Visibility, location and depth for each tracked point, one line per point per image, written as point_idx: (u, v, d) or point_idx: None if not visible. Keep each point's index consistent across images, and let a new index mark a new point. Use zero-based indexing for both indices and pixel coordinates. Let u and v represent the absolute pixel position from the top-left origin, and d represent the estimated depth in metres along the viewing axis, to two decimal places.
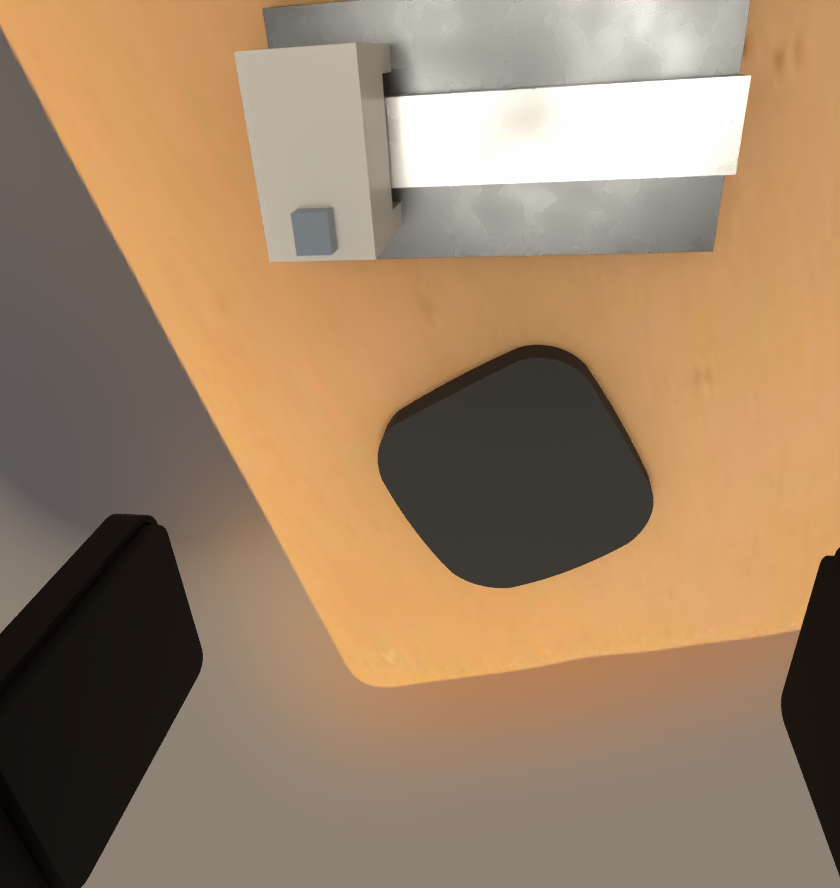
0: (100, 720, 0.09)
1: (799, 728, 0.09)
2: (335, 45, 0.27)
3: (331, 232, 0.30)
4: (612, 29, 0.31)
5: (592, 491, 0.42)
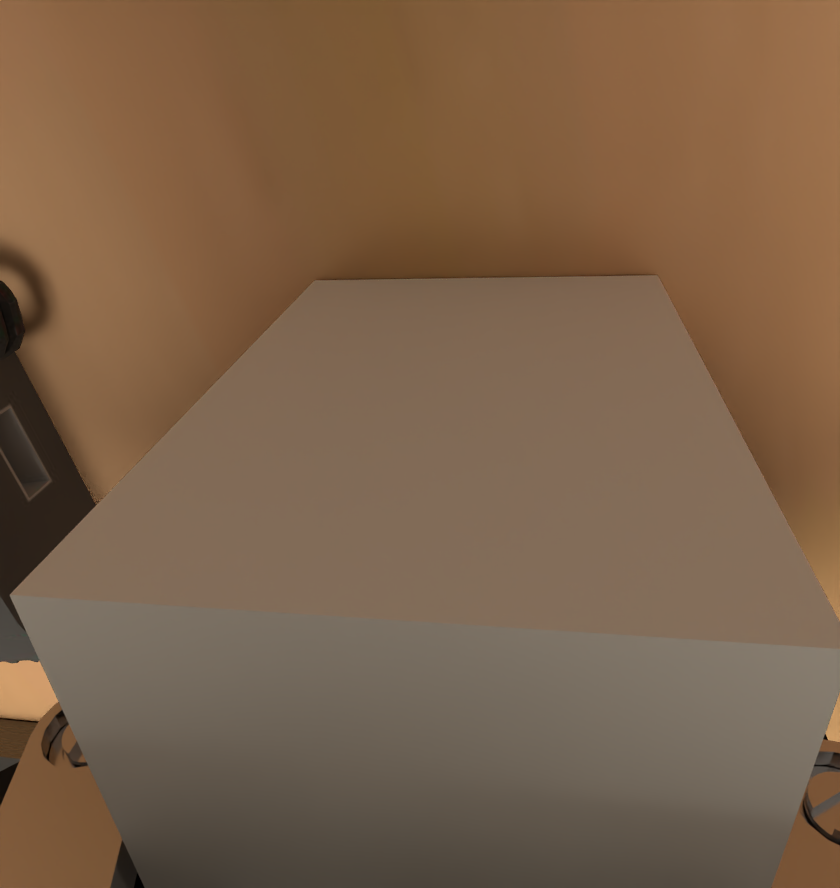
0: None
1: None
2: None
3: None
4: None
5: None
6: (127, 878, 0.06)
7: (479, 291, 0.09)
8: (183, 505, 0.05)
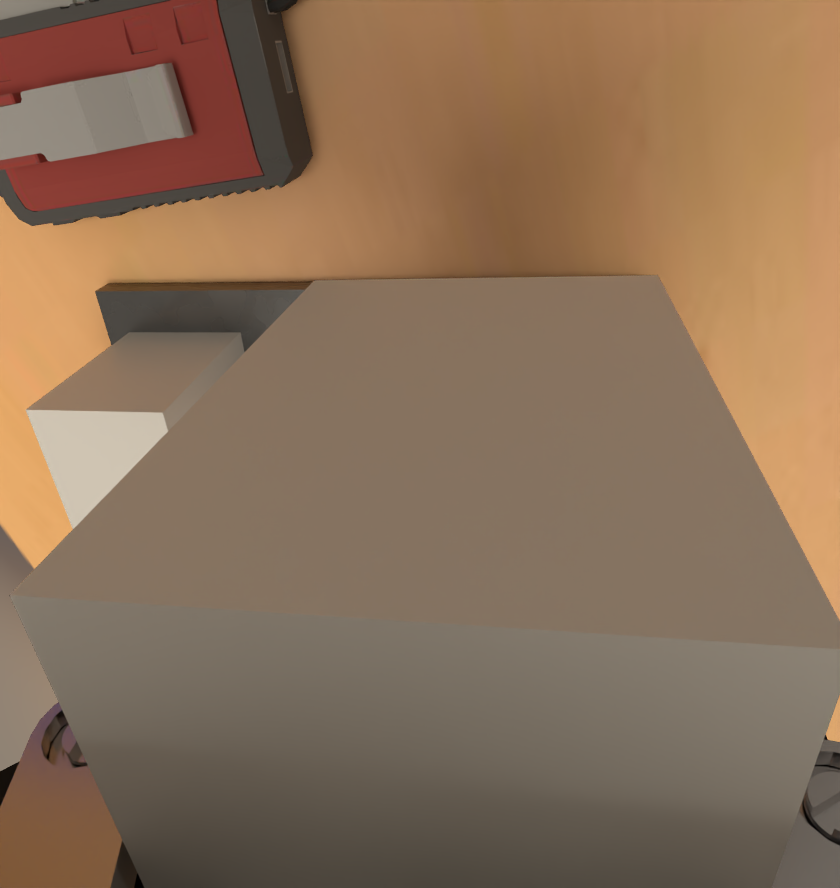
0: None
1: None
2: (140, 413, 0.23)
3: None
4: None
5: None
6: (127, 878, 0.06)
7: (479, 290, 0.09)
8: (183, 505, 0.05)
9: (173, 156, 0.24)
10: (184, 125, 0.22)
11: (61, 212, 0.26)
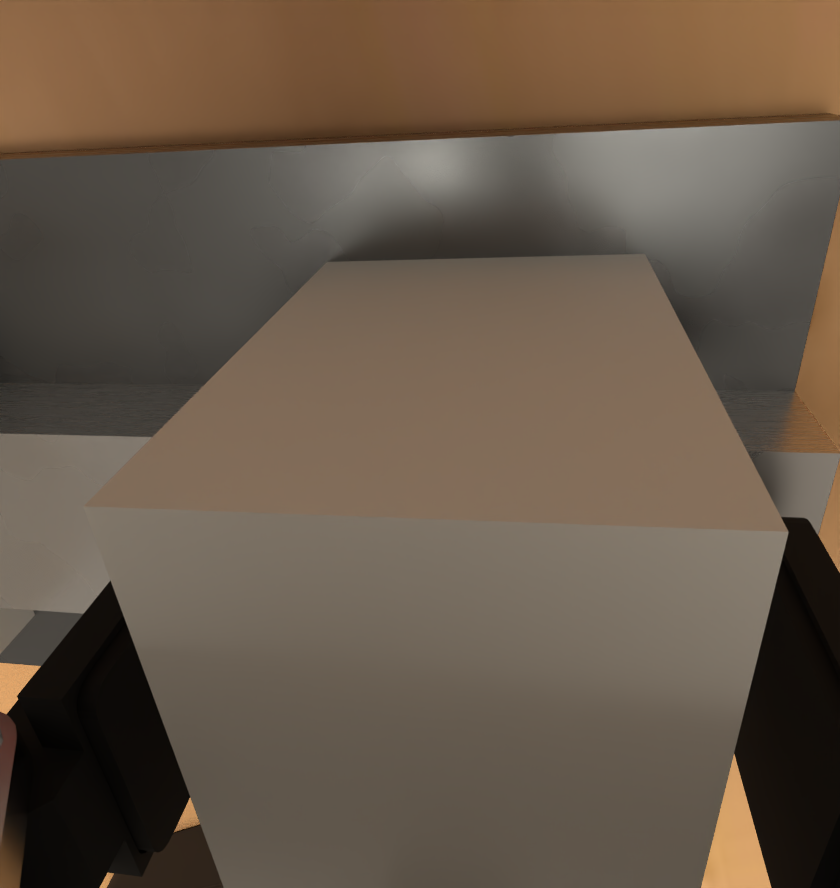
0: None
1: None
2: None
3: None
4: None
5: None
6: None
7: (480, 268, 0.10)
8: (224, 440, 0.06)
9: None
10: None
11: None
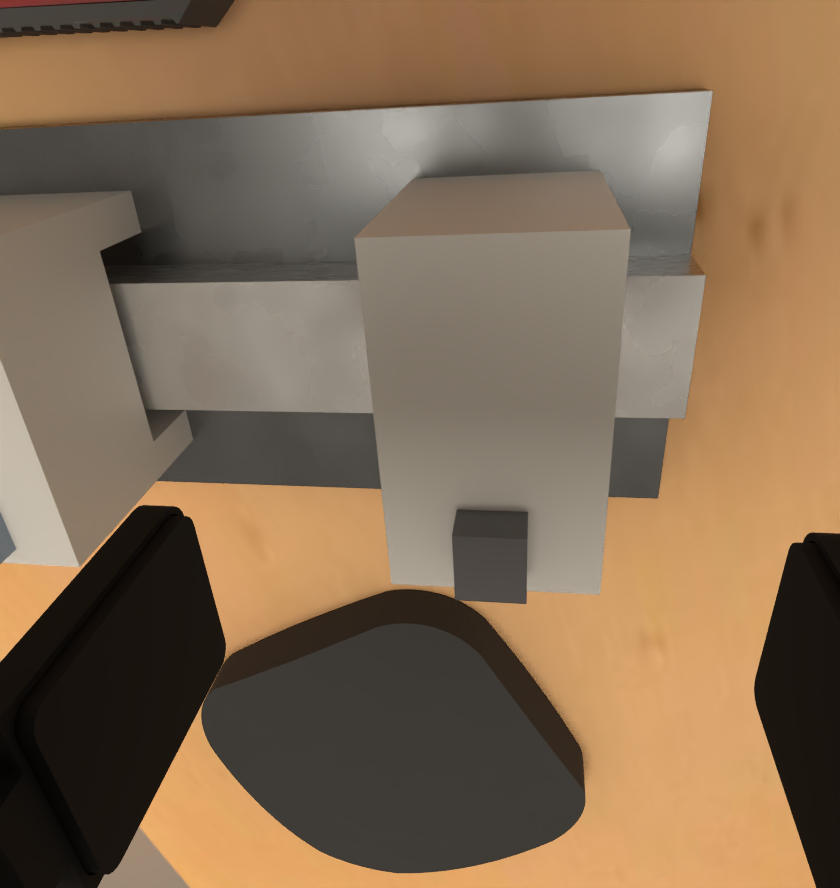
0: (132, 706, 0.09)
1: (770, 711, 0.09)
2: None
3: None
4: None
5: (498, 786, 0.29)
6: None
7: (505, 177, 0.18)
8: (400, 224, 0.14)
9: None
10: None
11: None
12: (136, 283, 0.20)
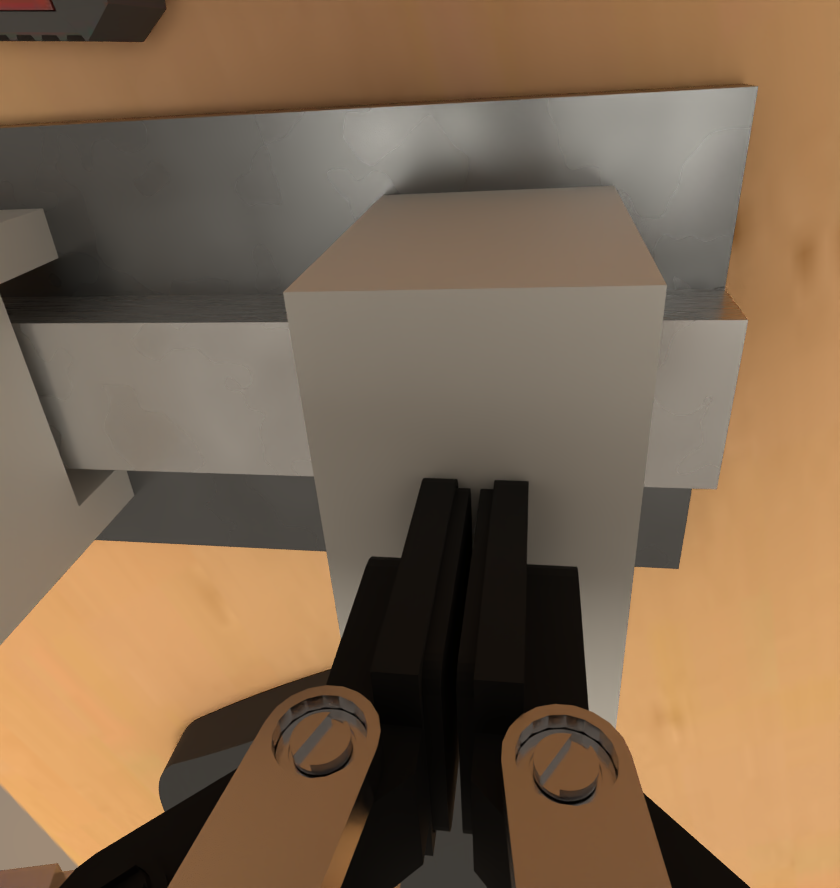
0: (457, 670, 0.09)
1: None
2: None
3: None
4: None
5: None
6: None
7: (495, 195, 0.14)
8: (351, 269, 0.10)
9: None
10: None
11: None
12: (46, 323, 0.16)
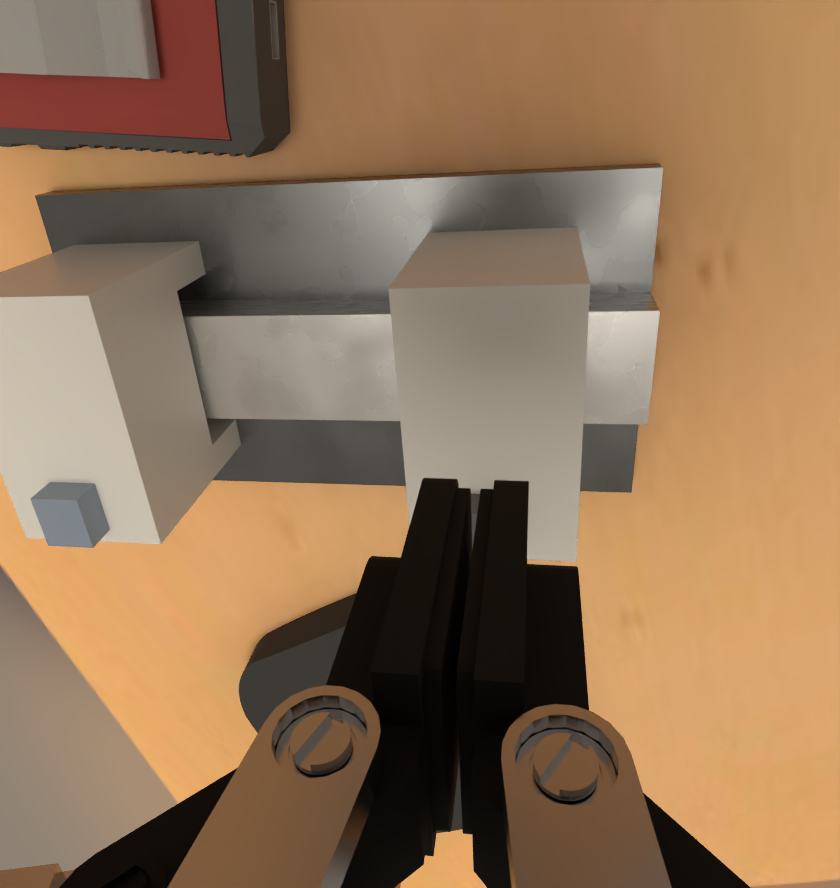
0: (457, 670, 0.09)
1: None
2: (61, 297, 0.19)
3: (91, 518, 0.22)
4: None
5: None
6: None
7: (501, 233, 0.23)
8: (421, 277, 0.18)
9: (133, 97, 0.21)
10: (151, 66, 0.20)
11: None
12: (204, 316, 0.24)
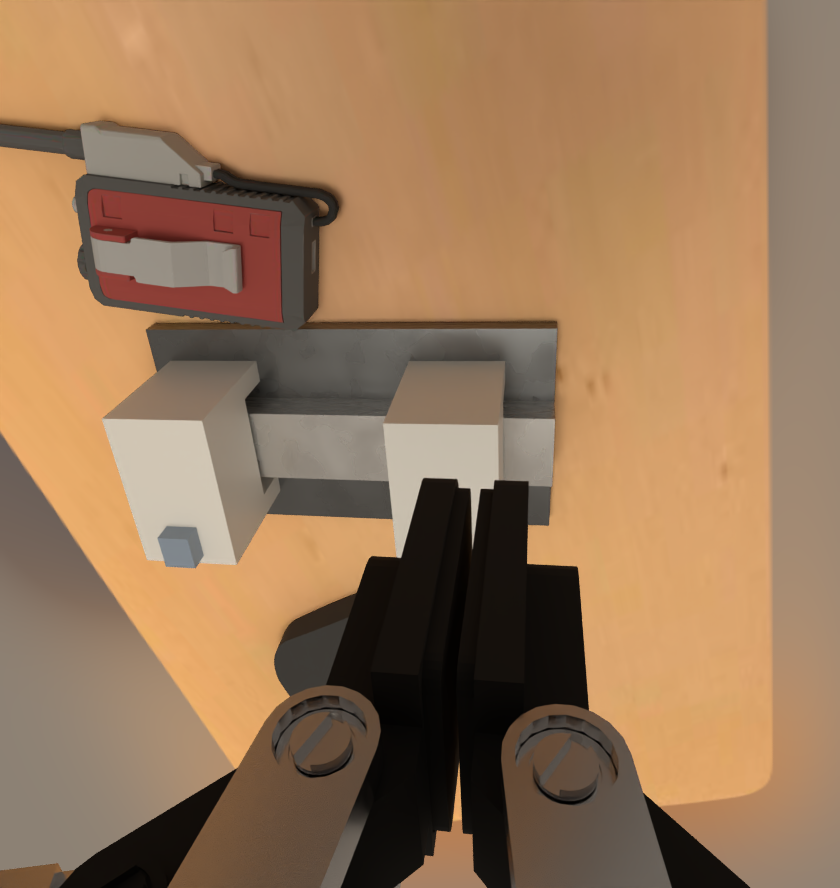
0: (457, 670, 0.09)
1: None
2: (185, 421, 0.31)
3: (194, 549, 0.34)
4: None
5: None
6: None
7: (456, 365, 0.35)
8: (402, 412, 0.31)
9: (223, 296, 0.34)
10: (238, 285, 0.33)
11: (129, 304, 0.35)
12: (261, 413, 0.37)
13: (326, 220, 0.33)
